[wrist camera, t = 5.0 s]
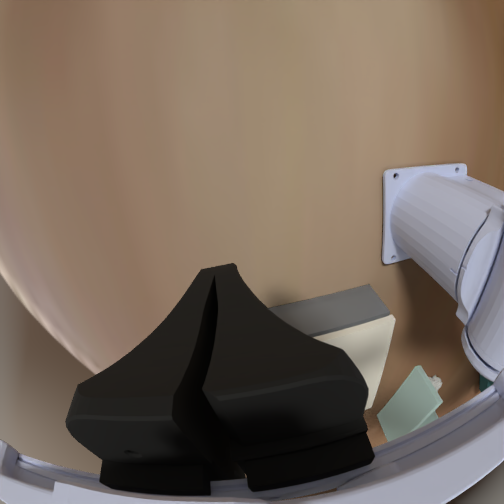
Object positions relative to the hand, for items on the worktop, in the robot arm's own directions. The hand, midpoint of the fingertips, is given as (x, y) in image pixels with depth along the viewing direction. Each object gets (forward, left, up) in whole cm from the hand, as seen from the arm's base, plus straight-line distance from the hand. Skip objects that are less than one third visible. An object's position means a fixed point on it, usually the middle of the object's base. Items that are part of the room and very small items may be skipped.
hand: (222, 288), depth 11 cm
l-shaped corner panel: (-24, +33, -10) cm, 42 cm away
